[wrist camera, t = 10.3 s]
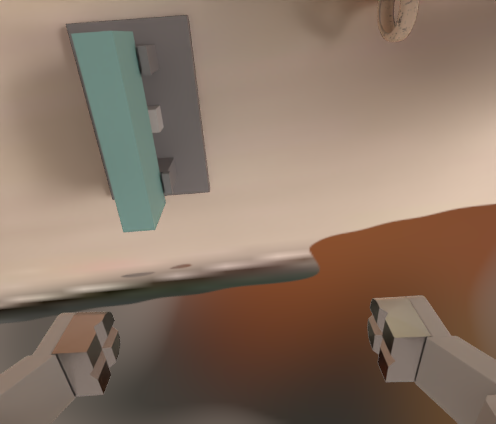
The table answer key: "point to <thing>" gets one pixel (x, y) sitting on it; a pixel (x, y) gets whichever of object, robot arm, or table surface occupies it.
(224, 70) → the table surface
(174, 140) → the display stand
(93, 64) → the frame bar
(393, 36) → the teacup with lid
